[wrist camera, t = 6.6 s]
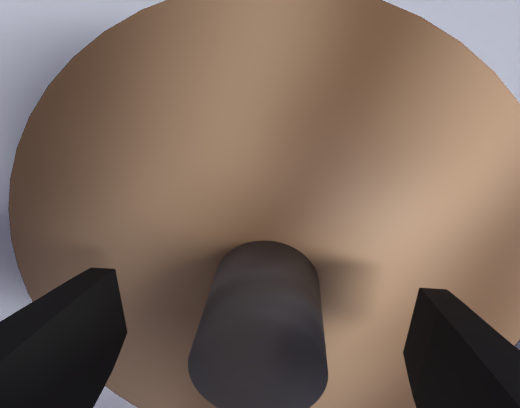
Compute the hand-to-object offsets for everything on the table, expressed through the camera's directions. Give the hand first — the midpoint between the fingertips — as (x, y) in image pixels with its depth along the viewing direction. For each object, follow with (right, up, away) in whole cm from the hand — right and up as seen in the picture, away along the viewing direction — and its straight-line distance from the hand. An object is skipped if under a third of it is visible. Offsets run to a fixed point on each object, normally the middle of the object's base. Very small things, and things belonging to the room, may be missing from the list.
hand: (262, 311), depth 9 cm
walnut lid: (0, +1, +2) cm, 2 cm away
